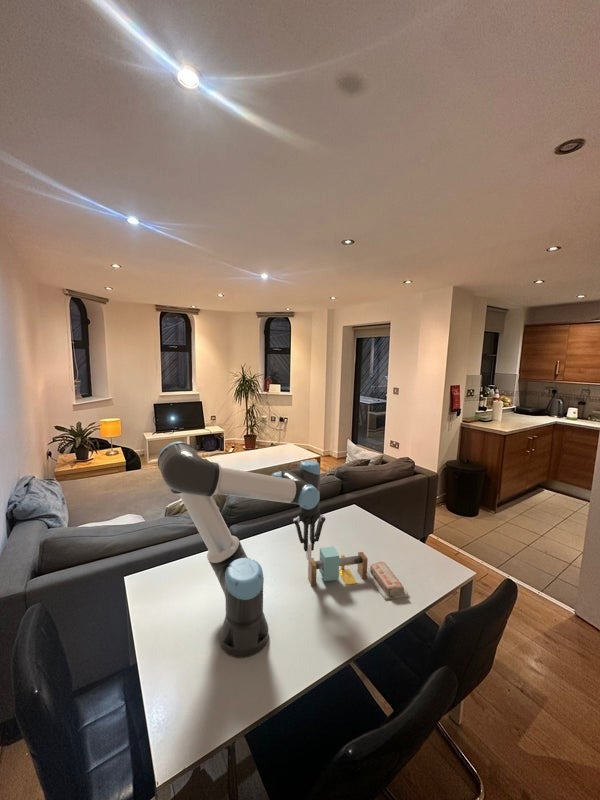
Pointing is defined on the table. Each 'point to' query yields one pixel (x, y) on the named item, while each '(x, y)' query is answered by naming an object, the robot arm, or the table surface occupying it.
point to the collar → (329, 563)
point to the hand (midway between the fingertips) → (308, 557)
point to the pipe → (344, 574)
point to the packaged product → (386, 581)
